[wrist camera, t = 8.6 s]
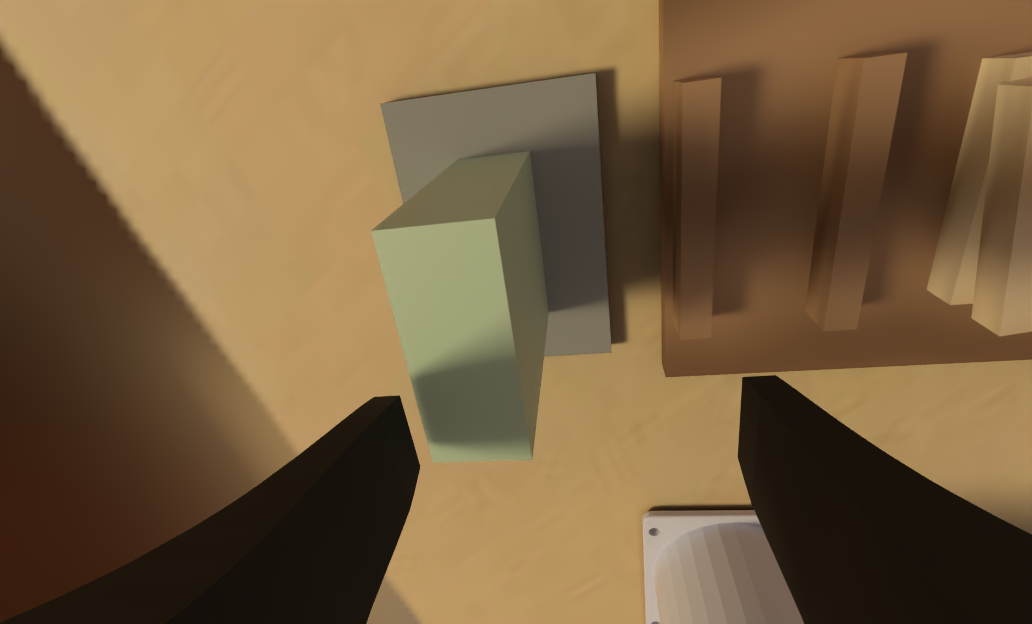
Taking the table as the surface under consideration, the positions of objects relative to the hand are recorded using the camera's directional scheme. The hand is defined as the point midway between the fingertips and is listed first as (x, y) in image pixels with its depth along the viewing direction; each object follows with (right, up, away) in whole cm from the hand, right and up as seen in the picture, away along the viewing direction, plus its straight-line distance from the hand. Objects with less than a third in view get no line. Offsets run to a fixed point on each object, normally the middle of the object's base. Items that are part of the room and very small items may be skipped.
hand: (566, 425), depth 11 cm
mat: (-1, +5, +8) cm, 10 cm away
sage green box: (-1, +5, +7) cm, 9 cm away
